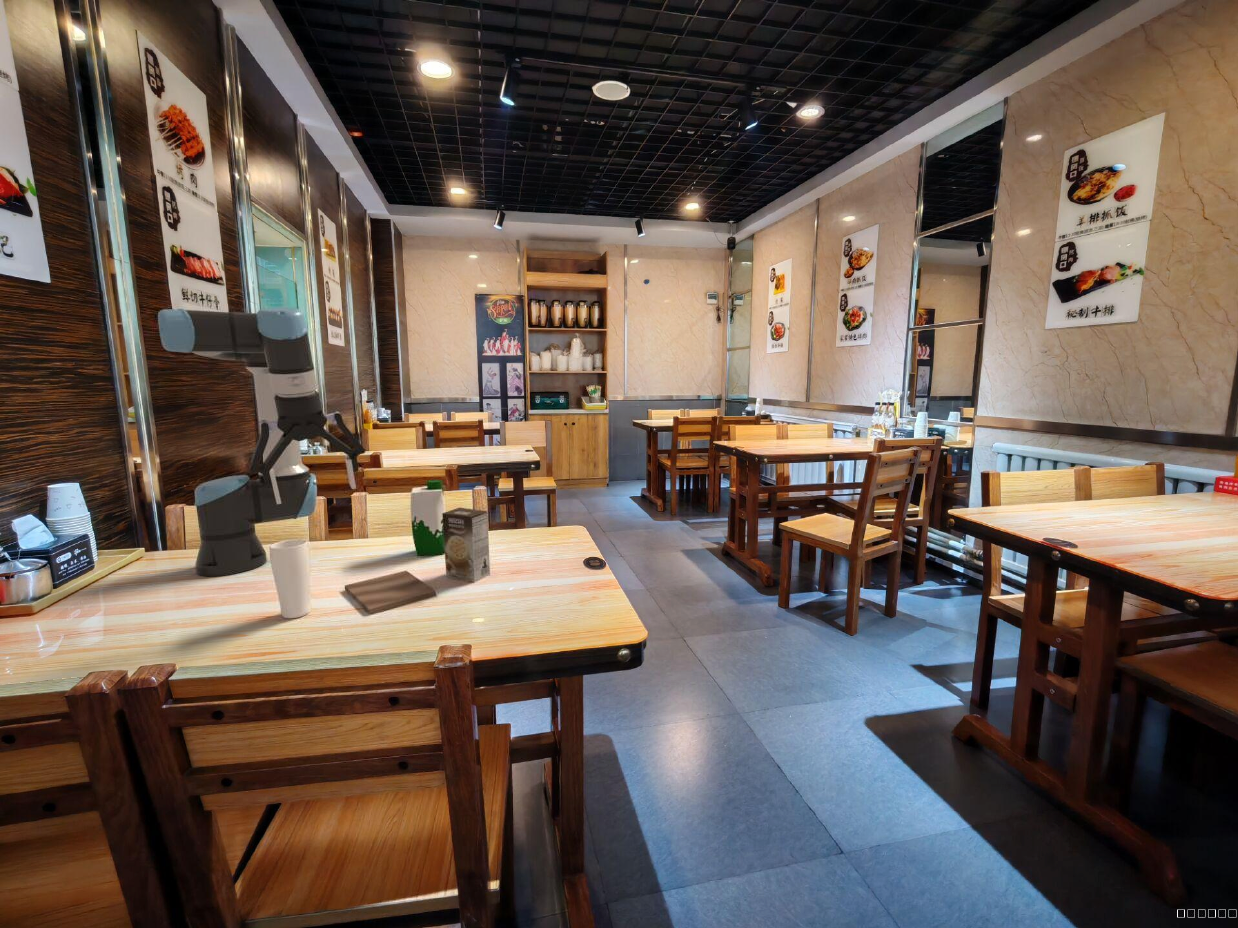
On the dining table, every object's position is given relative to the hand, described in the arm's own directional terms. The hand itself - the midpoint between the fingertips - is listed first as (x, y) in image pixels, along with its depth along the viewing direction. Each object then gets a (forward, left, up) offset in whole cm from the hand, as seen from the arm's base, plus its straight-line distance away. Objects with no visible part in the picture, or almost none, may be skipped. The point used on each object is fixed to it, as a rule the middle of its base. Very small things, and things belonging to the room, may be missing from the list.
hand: (317, 493), depth 111 cm
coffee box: (+3, +30, -25) cm, 39 cm away
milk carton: (-22, +31, -25) cm, 45 cm away
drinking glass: (-1, -6, -25) cm, 25 cm away
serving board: (+1, +12, -24) cm, 27 cm away
